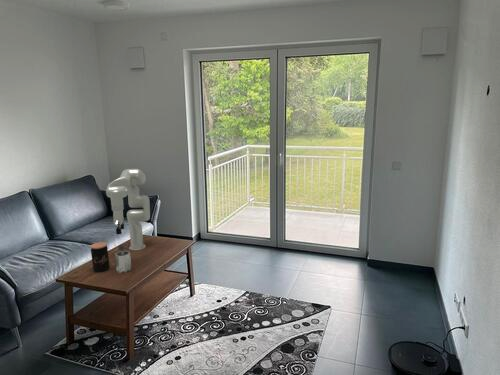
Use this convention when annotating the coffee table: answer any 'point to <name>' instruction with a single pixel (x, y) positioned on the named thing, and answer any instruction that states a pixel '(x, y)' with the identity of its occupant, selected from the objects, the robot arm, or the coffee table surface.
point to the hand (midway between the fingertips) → (120, 231)
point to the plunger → (122, 248)
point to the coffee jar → (100, 256)
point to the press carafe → (123, 261)
